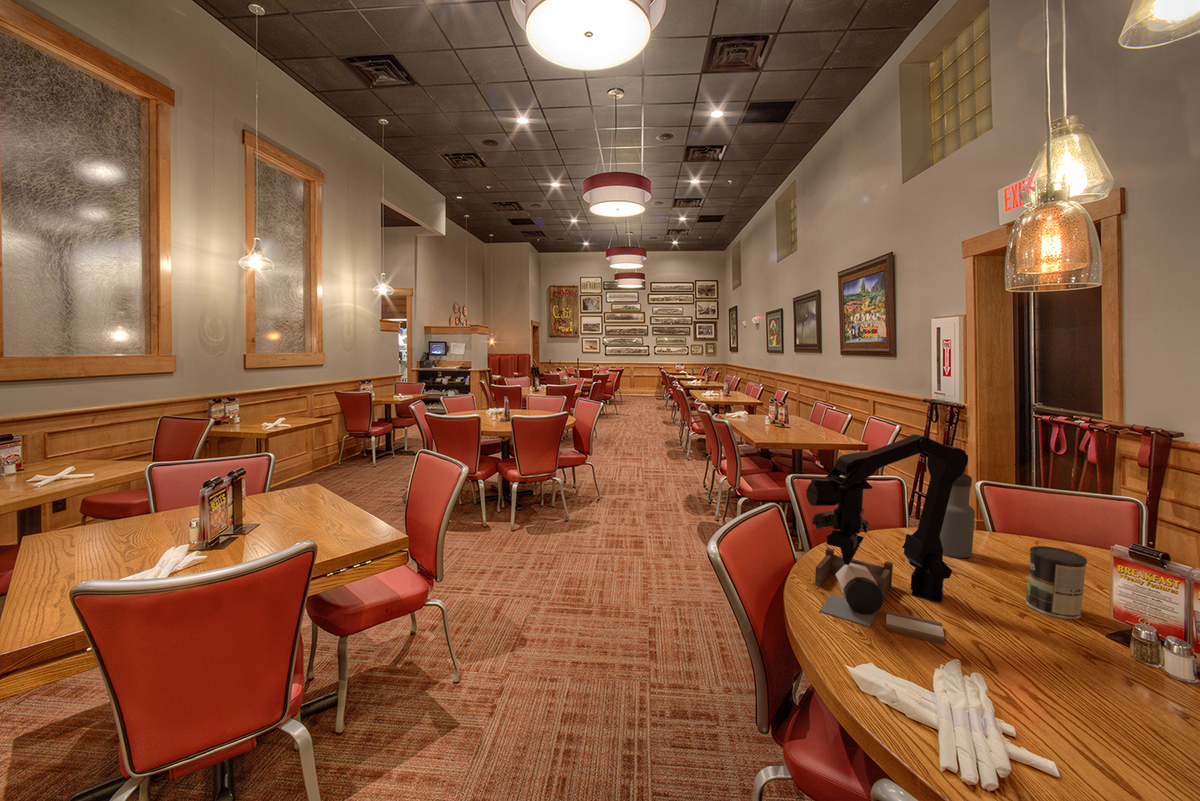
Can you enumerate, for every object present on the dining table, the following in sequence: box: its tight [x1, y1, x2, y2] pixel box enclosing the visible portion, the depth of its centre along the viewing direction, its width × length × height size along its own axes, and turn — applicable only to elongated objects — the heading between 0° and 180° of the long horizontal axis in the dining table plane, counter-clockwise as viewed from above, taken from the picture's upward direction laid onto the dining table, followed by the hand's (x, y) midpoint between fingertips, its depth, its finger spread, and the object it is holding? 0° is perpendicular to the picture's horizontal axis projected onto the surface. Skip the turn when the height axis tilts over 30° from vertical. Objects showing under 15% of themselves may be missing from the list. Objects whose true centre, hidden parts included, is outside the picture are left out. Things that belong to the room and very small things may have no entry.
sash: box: [885, 609, 946, 646], centre depth 113 cm, size 11×8×1 cm
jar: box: [834, 563, 884, 614], centre depth 124 cm, size 9×8×12 cm
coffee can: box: [1025, 545, 1088, 620], centre depth 122 cm, size 10×10×14 cm
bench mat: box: [819, 594, 879, 628], centre depth 122 cm, size 11×11×1 cm
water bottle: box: [940, 467, 976, 559], centre depth 157 cm, size 10×10×28 cm
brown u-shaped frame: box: [814, 547, 894, 600], centre depth 135 cm, size 17×13×6 cm
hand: (846, 564), depth 128 cm, fingers closed
